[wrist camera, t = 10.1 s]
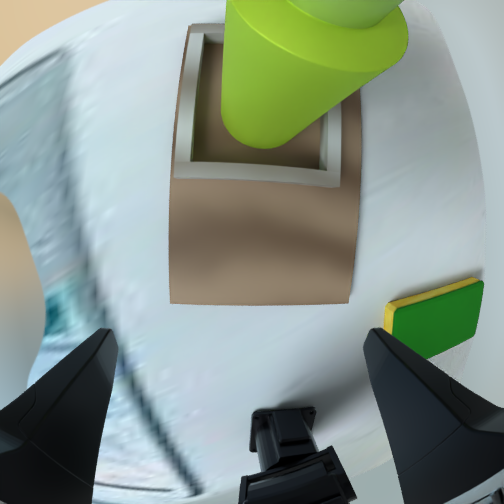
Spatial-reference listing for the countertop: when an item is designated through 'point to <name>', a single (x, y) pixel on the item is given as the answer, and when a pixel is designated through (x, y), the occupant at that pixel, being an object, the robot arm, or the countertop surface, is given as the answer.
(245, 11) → the soap dispenser
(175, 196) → the walnut holder board
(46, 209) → the countertop surface
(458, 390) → the robot arm
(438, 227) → the countertop surface
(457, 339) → the dish sponge
